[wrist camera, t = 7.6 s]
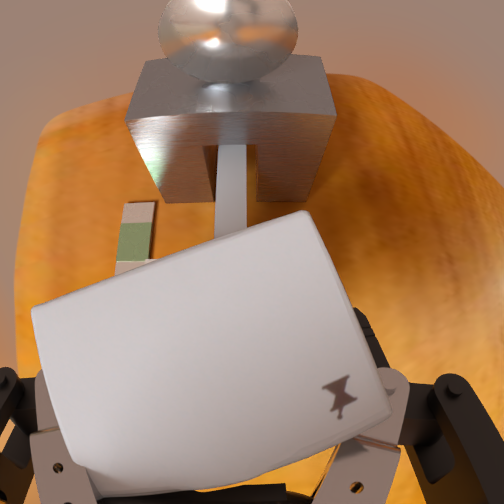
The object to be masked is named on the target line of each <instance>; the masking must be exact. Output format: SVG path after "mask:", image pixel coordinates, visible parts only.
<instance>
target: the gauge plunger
mask: <svg viewBox="0 0 504 504" xmlns="http://www.w3.org/2000/svg"><path fill="white" fill-rule="evenodd" d="M245 228H247V196H246V145H219V147H218V164H217V183H216V205H215V231H214V239H216V238H219V237H222V236H225V235H228V234H231V233H233V232H236V231H239V230H242V229H245ZM155 260H157V259H145V264H147V263H149V262H152V261H155Z"/></svg>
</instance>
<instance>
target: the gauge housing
mask: <svg viewBox="0 0 504 504" xmlns="http://www.w3.org/2000/svg"><path fill="white" fill-rule="evenodd" d="M158 37H159V42H160V46H161V48H162V50H163V52H164V54H165V55H166V57H167V58H165V59H157V60H151V61H146V62H145V64H144V67H143V69H142V72H141V75H140V77H139V80H138V83H137V85H136V88H135V91H134V93H133V96H132V99H131V102H130V105H129V108H128V111H127V114H126V117H125V120H124V121H125V123H126V125H127V127H128V129H129V131H130V133H131V135H132V137H133V140H134V142H135V144H136V146H137V148H138V150H139V152H140V154H141V156H142V158H143V160H144V162H145V164H146V166H147V168H148V170H149V172H150V174H151V176H152V178H153V179H154V181H155V183H156V185H157V187H158V189H159V191H160V193H161V195H162V197H163V199H164V201H165V203H194V202H214V189H215V170H216V153H217V145H255V154H256V200H257V202H306V200H307V197H308V194H309V192H310V189H311V186H312V184H313V181H314V178H315V176H316V173H317V170H318V168H319V165H320V162H321V159H322V157H323V154H324V151H325V148H326V146H327V143H328V140H329V137H330V134H331V132H332V129H333V126H334V123H335V120H336V117H337V113H336V110H335V106H334V102H333V98H332V94H331V91H330V87H329V84H328V80H327V77H326V73H325V70H324V67H323V63H322V60H321V57H317V56H307V55H293V54H291V53H292V51H293V50H294V48H295V45H296V42H297V38H298V26H297V21H296V17H295V14H294V11H293V8H292V6H291V4H290V2H289V1H288V0H170V1H169V3H168V5H167V7H166V8H165V10H164V12H163V14H162V16H161V19H160V22H159V27H158ZM154 212H155V202H145V203H127V204H124V210H123V216H122V222H121V227H120V234H119V241H118V249H117V257H116V269H115V276H116V275H118V274H121V273H123V272H126V271H129V270H131V269H134V268H136V267H139V266H142V265H144V264H145V259H150V249H151V239H152V229H153V221H154Z"/></svg>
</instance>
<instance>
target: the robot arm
mask: <svg viewBox="0 0 504 504" xmlns="http://www.w3.org/2000/svg"><path fill="white" fill-rule="evenodd" d="M353 310H354V312H355V314H356V317H357V319H358V321H359V324H360V326H361V329H362V331H363V334H364V336H365V338H366V341H367V343H368V346H369V348H370V351H371V354H372V356H373V359H374V361H375V364H376V366H377V369H378V371H379V374H380V377H381V379H382V382H383V385H384V387H385V390H386V393H387V395H388V398H389V401H390V404H391V406H392V410H393V412H392V414H391V416H390V417H389V418H388V419H387V420H385V421H383V422H382V423H380V424H378V425H376V426H374V427H372V428H370V429H369V430H367V431H365V432H363V433H361V434H359V435H357V436H355V437H353V438H351V439H349V440H346V441H344V442H342V443H340V444H338V445H336V446H335V449H334V451H333V453H332V455H331V457H330V459H329V461H328V464H327V466H326V468H325V470H324V472H323V474H322V476H321V477H320V479H319V481H318V483H317V485H316V487H315V488H314V490H313V492H312V494H311V496H310V497H309V496H306V495H304V494H300V493H296V492H291V491H286V484H285V483H281V484H261V485H242V486H237V487H232V488H227V489H222V490H216V491H210V492H198V491H194V490H187V491H177V492H170V493H162V494H154V495H142V496H128V497H103V496H102V495H101V494H100V492H99V491H98V489H97V488H96V486H95V484H94V483H93V481H92V479H91V477H90V475H89V474H88V472H87V470H86V468H85V467H84V466H81V465H78V464H76V463H75V462H74V461H73V460H72V458H71V456H70V454H69V451H68V449H67V446H66V444H65V441H64V438H63V436H62V433H61V430H60V427H59V424H58V421H57V418H56V415H55V412H54V409H53V406H52V402H51V399H50V396H49V392H48V389H47V385H46V381H45V378H44V374H43V370H42V369H41V370H40V371H39V373H38V374H37V376H36V377H34V378H21V379H20V378H19V377H18V375H17V374H16V373H15V371H14V370H13V369H11V368H9V367H3V368H0V436H1V434H2V432H3V430H4V428H5V426H6V424H7V422H8V420H9V419H11V421H12V422H13V423H14V424H15V427H14V429H13V431H12V433H11V435H10V437H9V439H8V441H7V443H6V445H5V447H4V449H3V451H2V452H1V453H0V504H23V503H24V500H25V497H26V494H27V492H28V489H29V487H30V484H31V481H32V479H33V476H34V474H35V479H36V484H37V489H38V493H39V498H40V501H41V504H385V502H386V499H387V496H388V494H389V491H390V488H391V485H392V482H393V479H394V475H395V472H396V469H397V466H398V462H399V458H400V453H401V449H400V448H398V447H397V445H404V447H405V449H406V452H407V454H408V456H409V459H410V461H411V464H412V467H413V469H414V472H415V474H416V477H417V479H418V482H419V485H420V487H421V490H422V493H423V495H424V498H425V501H426V504H504V441H503V439H502V437H501V436H500V434H499V432H498V430H497V429H496V427H495V425H494V423H493V422H492V420H491V418H490V416H489V415H488V413H487V411H486V410H485V408H484V406H483V405H482V403H481V402H480V400H479V398H478V397H477V395H476V394H475V392H474V390H473V389H472V387H471V386H470V384H469V383H468V382H467V381H466V380H465V379H464V378H463V377H461V376H459V375H457V374H451V373H448V374H443V375H441V376H440V377H439V378H438V379H437V380H436V382H435V383H434V385H430V384H417V383H410V382H408V380H407V378H406V377H405V376H404V375H403V374H402V373H400V372H399V371H397V370H395V369H392V368H390V366H389V364H388V362H387V359H386V357H385V355H384V353H383V351H382V349H381V347H380V344H379V342H378V340H377V338H376V337H375V334H374V332H373V330H372V328H371V326H370V324H369V322H368V320H367V318H366V316H365V315H364V314H363V313H362V312H360V311H359V310H358V309H357V308H353Z"/></svg>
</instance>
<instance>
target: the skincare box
mask: <svg viewBox="0 0 504 504" xmlns="http://www.w3.org/2000/svg"><path fill="white" fill-rule="evenodd" d="M31 316H32V322H33V327H34V333H35V338H36V343H37V348H38V353H39V358H40V362H41V366H42V370H43V374H44V378H45V381H46V385H47V389H48V392H49V396H50V399H51V402H52V406H53V409H54V412H55V415H56V418H57V421H58V424H59V427H60V430H61V433H62V436H63V438H64V441H65V444H66V446H67V449H68V451H69V454H70V456H71V458H72V460H73V461H74V462H75V463H76V464H78V465H81V466H84V467H85V468H86V470H87V472H88V474H89V475H90V477H91V479H92V481H93V483H94V484H95V486H96V488H97V489H98V491H99V492H100V494H101V495H102V496H103V497H128V496H142V495H154V494H162V493H170V492H177V491H187V490H201V489H210V488H216V487H222V486H226V485H231V484H236V483H239V482H243V481H247V480H250V479H253V478H255V477H258V476H260V475H262V474H264V473H266V472H269V471H272V470H275V469H278V468H280V467H283V466H286V465H289V464H292V463H294V462H297V461H300V460H303V459H305V458H308V457H310V456H312V455H315V454H317V453H319V452H321V451H324V450H326V449H328V448H331V447H333V446H335V445H338V444H340V443H342V442H344V441H346V440H349V439H351V438H353V437H355V436H357V435H359V434H361V433H363V432H365V431H367V430H369V429H370V428H372V427H374V426H376V425H378V424H380V423H382V422H383V421H385V420H387V419H388V418H389V417H390V416H391V414H392V412H393V410H392V406H391V404H390V401H389V398H388V395H387V393H386V390H385V387H384V385H383V382H382V379H381V377H380V374H379V371H378V369H377V366H376V364H375V361H374V359H373V356H372V354H371V351H370V348H369V346H368V343H367V341H366V338H365V336H364V334H363V331H362V329H361V326H360V324H359V321H358V319H357V317H356V314H355V312H354V310H353V307H352V305H351V303H350V300H349V298H348V296H347V293H346V291H345V289H344V286H343V284H342V282H341V280H340V277H339V275H338V273H337V271H336V268H335V266H334V264H333V262H332V260H331V257H330V255H329V253H328V251H327V249H326V247H325V244H324V242H323V240H322V238H321V236H320V234H319V232H318V229H317V227H316V225H315V223H314V221H313V219H312V217H311V215H310V213H309V212H308V211H305V210H300V211H297V212H294V213H291V214H288V215H285V216H282V217H279V218H276V219H272V220H269V221H266V222H263V223H260V224H257V225H254V226H251V227H248V228H245V229H242V230H239V231H236V232H233V233H231V234H228V235H225V236H222V237H219V238H216V239H213V240H210V241H207V242H205V243H202V244H199V245H196V246H193V247H190V248H188V249H185V250H182V251H179V252H176V253H174V254H171V255H168V256H165V257H163V258H160V259H157V260H155V261H152V262H149V263H147V264H144V265H142V266H139V267H136V268H134V269H131V270H129V271H126V272H123V273H121V274H118V275H116V276H113V277H110V278H108V279H105V280H103V281H100V282H97V283H95V284H92V285H90V286H87V287H84V288H81V289H78V290H76V291H73V292H71V293H68V294H66V295H63V296H61V297H58V298H56V299H53V300H50V301H48V302H45V303H42V304H39V305H35V306H34V307H32V309H31Z"/></svg>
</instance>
